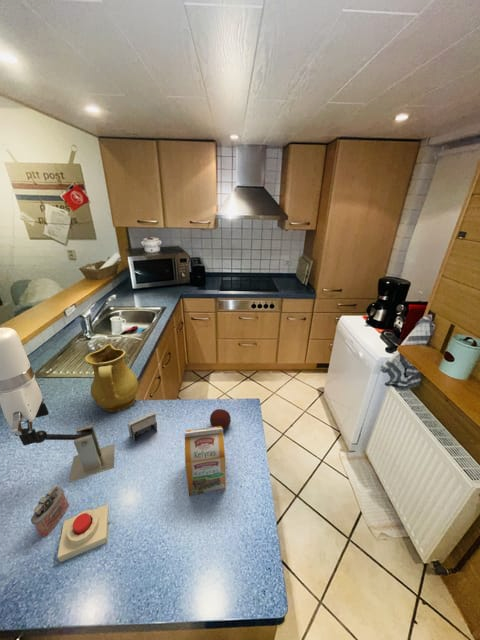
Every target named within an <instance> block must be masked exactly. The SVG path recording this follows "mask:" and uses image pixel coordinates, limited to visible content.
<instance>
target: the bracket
mask: <svg viewBox="0 0 480 640" xmlns="http://www.w3.org/2000/svg"><path fill="white" fill-rule="evenodd" d="M82 431H84V432H92V435H89V436H85V437H82V438H78V439H74V440H73V444H74V447H75V450H76V452H77V455H73V458H72V464H71V469H70V473H69V480H68V483H71V482H74V481H78V480H81V479H85V478H87V477H90V476H93V475H97V474H100V473H102V472H105V471H108V470H111V469H114V468H115V454H116V453H115V451H116V450H115V449H116V444H115V443H114V444H110V445H107V446H104V447H103V446H102V447H101V446H100V442H99V438H98V437H97V433H96V430H95V427H94V424H90V425H86V426H83V427H79V428H76V429H75V432H76V435H80V434H81V432H82Z"/></svg>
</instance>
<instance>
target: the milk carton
mask: <svg viewBox="0 0 480 640" xmlns="http://www.w3.org/2000/svg"><path fill="white" fill-rule="evenodd" d="M184 463H185V464H184V465H185V473H186V482H187V490H188V491H187V493H188V497H192V496H197V495H203V494H210V493H215V492H222V491H226V490H227V488H226V485H227V484H226V483H227V481H226V480H227V479H226V448H225V436H224V430H223V428H222V426H218V427H212V426H210V427H203V428H195V429H194V428H193V429H187V430H185V432H184Z"/></svg>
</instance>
